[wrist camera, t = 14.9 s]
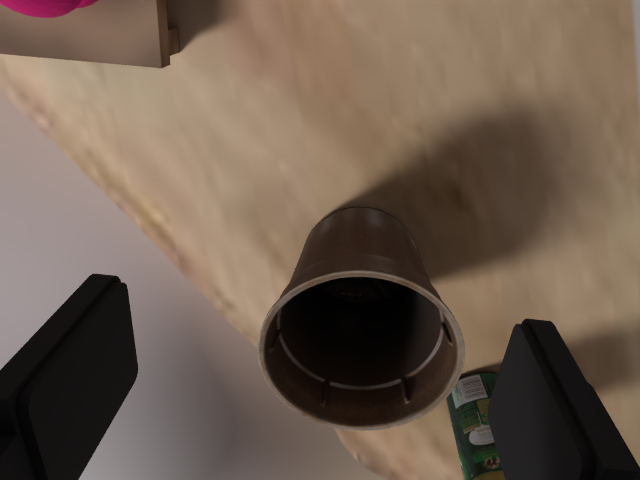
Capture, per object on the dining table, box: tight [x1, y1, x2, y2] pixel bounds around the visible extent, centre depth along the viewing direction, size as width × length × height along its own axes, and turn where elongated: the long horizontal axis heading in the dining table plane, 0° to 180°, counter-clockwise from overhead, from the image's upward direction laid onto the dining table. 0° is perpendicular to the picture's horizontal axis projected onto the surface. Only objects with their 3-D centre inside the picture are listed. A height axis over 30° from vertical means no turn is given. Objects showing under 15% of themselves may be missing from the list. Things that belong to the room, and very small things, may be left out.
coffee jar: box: [446, 373, 505, 480], centre depth 52 cm, size 10×8×19 cm
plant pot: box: [258, 208, 465, 431], centre depth 45 cm, size 16×16×16 cm
